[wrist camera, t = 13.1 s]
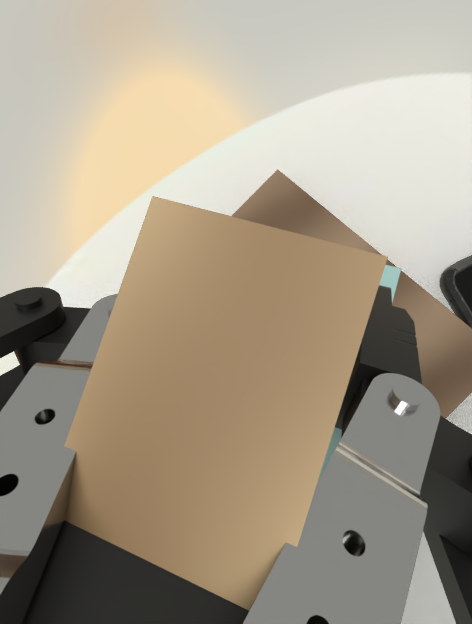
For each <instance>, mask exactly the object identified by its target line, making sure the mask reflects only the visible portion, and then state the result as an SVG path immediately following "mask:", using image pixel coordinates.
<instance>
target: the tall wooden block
mask: <svg viewBox="0 0 472 624" xmlns="http://www.w3.org/2000/svg"><path fill="white" fill-rule="evenodd" d="M387 258H388V257H386V256H383V255H379V254H375V253H371V252H367V251H363V250H359V249H355V248H352V247H348V246H344V245H340V244H336V243H332V242H328V241H324V240H321V239H317V238H313V237H309V236H305V235H301V234H297V233H293V232H290V231H286V230H282V229H278V228H274V227H270V226H266V225H262V224H259V223H255V222H251V221H247V220H243V219H239V218H235V217H231V216H228V215H224V214H220V213H216V212H212V211H208V210H204V209H200V208H197V207H193V206H189V205H185V204H181V203H177V202H173V201H169V200H166V199H162V198H158V197H154V196H153V197H152V199H151V202H150V205H149V208H148V211H147V214H146V216H145V219H144V222H143V225H142V228H141V230H140V233H139V236H138V239H137V242H136V245H135V247H134V250H133V253H132V256H131V259H130V262H129V264H128V267H127V270H126V273H125V276H124V278H123V281H122V284H121V287H120V290H119V293H118V295H117V298H116V301H115V304H114V307H113V310H112V312H111V315H110V318H109V321H108V324H107V326H106V329H105V332H104V335H103V338H102V341H101V343H100V346H99V349H98V352H97V355H96V358H95V360H94V363H93V366H92V369H91V372H90V374H89V377H88V380H87V383H86V386H85V389H84V391H83V394H82V397H81V400H80V403H79V406H78V408H77V411H76V414H75V417H74V420H73V422H72V425H71V428H70V431H69V434H68V437H67V439H66V442H65V445H64V446H65V447H67V448H70V449H72V450H74V451H76V457H75V464H74V471H73V478H72V485H71V492H70V500H69V507H68V511H67V513H66V516H65V518H64V520H65V521H67V522H69V523H71V524H73V525H75V526H77V527H79V528H81V529H83V530H85V531H87V532H90V533H92V534H94V535H96V536H98V537H100V538H102V539H104V540H106V541H108V542H110V543H112V544H114V545H116V546H118V547H120V548H122V549H124V550H126V551H128V552H130V553H132V554H134V555H136V556H139V557H141V558H143V559H145V560H147V561H149V562H151V563H153V564H155V565H157V566H159V567H161V568H163V569H165V570H167V571H169V572H171V573H173V574H175V575H177V576H179V577H181V578H183V579H186V580H188V581H190V582H192V583H194V584H196V585H198V586H200V587H202V588H204V589H206V590H208V591H210V592H212V593H214V594H216V595H218V596H220V597H222V598H224V599H226V600H228V601H230V602H232V603H235V604H237V605H239V606H241V607H243V608H245V609H247V610H249V611H250V609H251V607H252V605H253V603H254V602H255V600H256V598H257V596H258V594H259V592H260V590H261V588H262V587H263V585H264V583H265V581H266V579H267V577H268V575H269V573H270V571H271V570H272V568H273V566H274V564H275V562H276V560H277V558H278V556H279V555H280V553H281V551H282V549H283V547H284V545H285V543H289V544H291V545H293V546H296V547H297V546H298V543H299V540H300V536H301V533H302V530H303V527H304V524H305V520H306V517H307V514H308V511H309V508H310V504H311V501H312V498H313V495H314V492H315V488H316V485H317V482H318V479H319V476H320V472H321V469H322V466H323V463H324V460H325V456H326V453H327V450H328V447H329V444H330V440H331V437H332V434H333V431H334V428H335V424H336V421H337V418H338V415H339V412H340V408H341V405H342V402H343V399H344V396H345V392H346V389H347V386H348V383H349V380H350V376H351V373H352V370H353V367H354V364H355V360H356V357H357V354H358V351H359V348H360V344H361V341H362V338H363V335H364V332H365V328H366V325H367V322H368V319H369V316H370V312H371V309H372V306H373V303H374V300H375V296H376V293H377V290H378V287H379V284H380V280H381V277H382V274H383V271H384V268H385V265H386V261H387Z"/></svg>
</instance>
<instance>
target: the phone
mask: <svg viewBox="0 0 472 624" xmlns="http://www.w3.org/2000/svg"><path fill="white" fill-rule="evenodd" d="M440 288H441V290H442V293H443V294H444V296H445V298H446V300H447V301H448V303H449V305H450V306H451V308H452V310H453V311H454V313H455V315H456V316H457V317H458V318H460V319H461V320H462V321H463V322H464V323H466V324H467V325H468V326H469V327H471V328H472V255H471V256H469V257H467V258H465V259H463V260H460V261H458V262H456V263H455V264H453V265H452V266H450V267H449V268H447V269H446V270H445V271H444V272H443V274H442V276H441V278H440ZM450 300H451V302H450Z"/></svg>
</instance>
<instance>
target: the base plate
mask: <svg viewBox="0 0 472 624" xmlns="http://www.w3.org/2000/svg"><path fill="white" fill-rule="evenodd" d="M231 217H235V218H239V219H243V220H247V221H251V222H255V223H259V224H262V225H266V226H270V227H274V228H278V229H282V230H286V231H290V232H293V233H297V234H301V235H305V236H309V237H313V238H317V239H321V240H324V241H328V242H332V243H336V244H340V245H344V246H348V247H352V248H355V249H359V250H363V251H367V252H371V253H375V254H379V255H381V254H380V253H379V252H378V251H377V250H375V249H374V248H373V247H372V246H370V245H369V244H368V243H367V242H366V241H364V240H363V239H362V238H361V237H359V236H358V235H357V234H356V233H355V232H353V231H352V230H351V229H350V228H348V227H347V226H346V225H345V224H344V223H342V222H341V221H340V220H339V219H337V218H336V217H335V216H334V215H333V214H331V213H330V212H329V211H328V210H326V209H325V208H324V207H323V206H322V205H320V204H319V203H318V202H317V201H315V200H314V199H313V198H312V197H311V196H309V195H308V194H307V193H306V192H305V191H303V190H302V189H301V188H300V187H298V186H297V185H296V184H295V183H294V182H292V181H291V180H290V179H289V178H287V177H286V176H285V175H284V174H283V173H281V172H280V171H279V170H277V171H276V172H275V173H274V174H273V175H272V176H271V177H270V178H269V179H268V180H267V181H266V182H265V183H264V184H263V185H262V186H261V187H260V188H259V189H258V190H257V191H256V192H255V193H254V194H253V195H252V196H251V197H250V198H249V199H248V200H247V201H246V202H245V203H244V204H243V205H242V206H241V207H240V208H239V209H238V210H237V211H236V212H235V213H234V214H233V215H232V216H231ZM386 265H389V266H393V267H396V266H395V265H394V264H392V263H391V262H390V261H389V260H388V259H387V261H386ZM392 306H395V307H399V308H403V309H405V310H406V311H407V313H408V314H409V315H410V317H411V318H412V320H413V321H414V324H415V332H416V335H415V337H416V340H417V348H418V356H419V363H420V371H421V379H422V385H423V386H424V387H425V388H427V389H428V390H429V391H430V392H431V393H432V395H433V396H434V397H435V399H436V400H437V402H438V404H439V407H440V415H441V416H442V417H444V418H446V417H447V416H448V415H449V414H450V413H451V412H452V411H453V410H454V409H455V408H456V407H457V406H458V405H459V404H460V403H461V402H462V401H463V400H464V399H465V398H466V397H467V396H468V395H469V394H470V393H471V392H472V328H471V327H469V326H468V325H467V324H466V323H464V322H463V321H462V320H461V319H460V318H458V317H457V316H456V315H455V314H453V313H452V312H451V311H450V310H449V309H447V308H446V307H445V306H444V305H442V304H441V303H440V302H439V301H438V300H436V299H435V298H434V297H433V296H431V295H430V294H429V293H428V292H427V291H425V290H424V289H423V288H422V287H420V286H419V285H418V284H417V283H416V282H414V281H413V280H412V279H411V278H409V277H408V276H407V275H406V274H405V273H403V272H402V271H401V272H400V275H399V279H398V283H397V287H396V290H395V294H394V298H393V302H392Z"/></svg>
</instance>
